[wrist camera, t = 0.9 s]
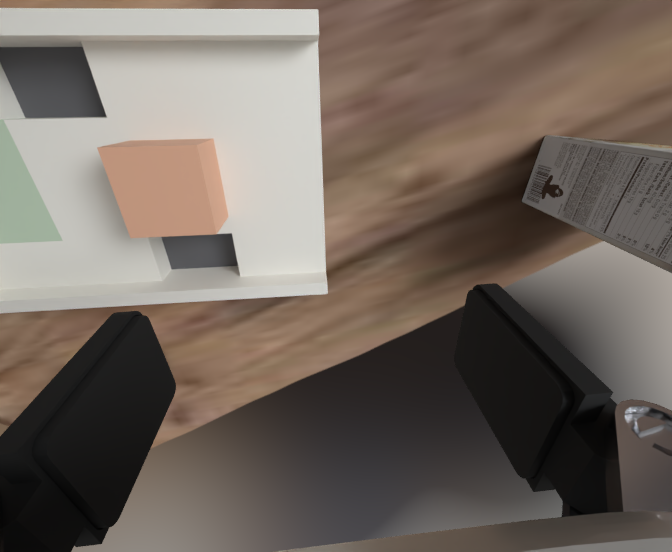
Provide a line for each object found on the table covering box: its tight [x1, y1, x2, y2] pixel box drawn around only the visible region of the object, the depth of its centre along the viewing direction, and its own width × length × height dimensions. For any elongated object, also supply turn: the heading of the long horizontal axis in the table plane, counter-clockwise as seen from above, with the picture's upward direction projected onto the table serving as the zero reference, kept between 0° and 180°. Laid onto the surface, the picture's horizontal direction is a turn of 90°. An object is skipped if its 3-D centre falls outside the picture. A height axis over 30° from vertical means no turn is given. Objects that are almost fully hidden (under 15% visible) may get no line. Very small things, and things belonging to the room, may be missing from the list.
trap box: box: [0, 8, 328, 313], centre depth 24 cm, size 20×30×4 cm, turn 91°
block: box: [97, 139, 229, 238], centre depth 22 cm, size 6×6×4 cm
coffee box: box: [522, 135, 672, 273], centre depth 22 cm, size 9×6×16 cm
